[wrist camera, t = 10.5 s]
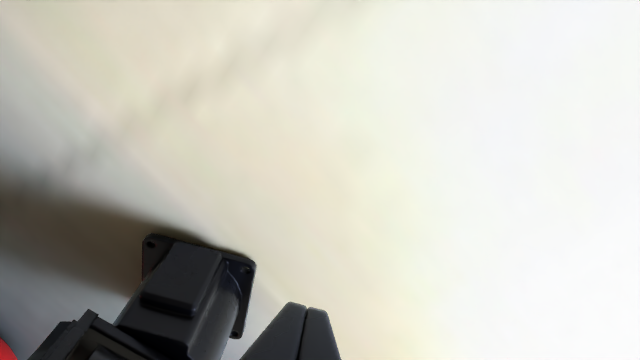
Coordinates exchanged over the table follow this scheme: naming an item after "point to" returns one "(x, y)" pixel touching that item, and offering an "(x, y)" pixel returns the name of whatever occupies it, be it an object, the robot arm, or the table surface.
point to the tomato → (6, 351)
